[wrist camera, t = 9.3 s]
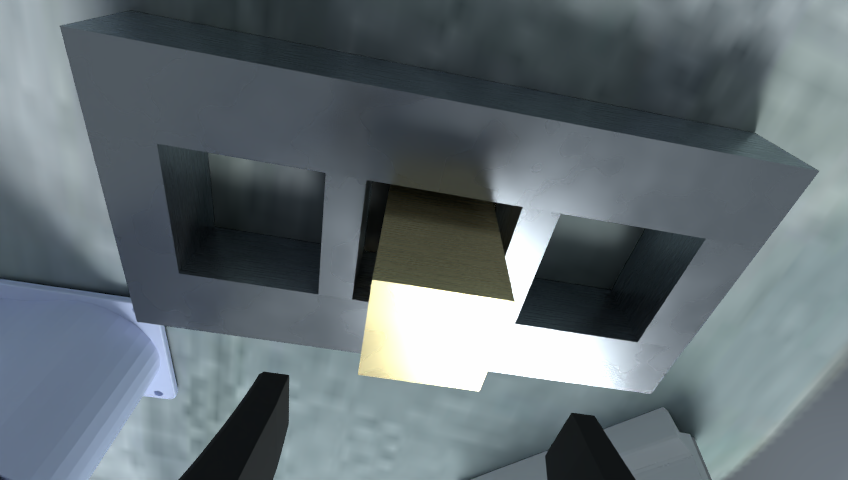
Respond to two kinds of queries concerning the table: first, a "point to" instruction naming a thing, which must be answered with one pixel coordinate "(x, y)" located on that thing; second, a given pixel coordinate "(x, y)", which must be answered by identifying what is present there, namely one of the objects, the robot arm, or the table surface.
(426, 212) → the brass block
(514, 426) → the table surface
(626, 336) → the grey block holder
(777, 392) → the table surface
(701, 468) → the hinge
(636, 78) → the table surface
